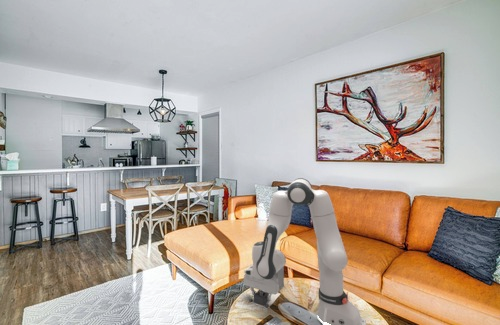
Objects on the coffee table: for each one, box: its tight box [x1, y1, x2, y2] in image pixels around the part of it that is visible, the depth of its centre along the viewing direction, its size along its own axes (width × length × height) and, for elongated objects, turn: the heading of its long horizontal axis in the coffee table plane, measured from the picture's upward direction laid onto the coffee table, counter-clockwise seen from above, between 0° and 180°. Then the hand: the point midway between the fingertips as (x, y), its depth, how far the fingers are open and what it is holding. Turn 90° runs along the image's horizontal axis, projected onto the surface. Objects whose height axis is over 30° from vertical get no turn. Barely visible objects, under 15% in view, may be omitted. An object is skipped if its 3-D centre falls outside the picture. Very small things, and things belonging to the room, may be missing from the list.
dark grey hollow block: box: [253, 289, 269, 306], centre depth 137 cm, size 6×6×4 cm
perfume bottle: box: [275, 266, 285, 291], centre depth 151 cm, size 7×7×18 cm
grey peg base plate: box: [247, 291, 282, 310], centre depth 140 cm, size 12×16×6 cm
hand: (261, 296), depth 137 cm, fingers open, 8 cm apart
